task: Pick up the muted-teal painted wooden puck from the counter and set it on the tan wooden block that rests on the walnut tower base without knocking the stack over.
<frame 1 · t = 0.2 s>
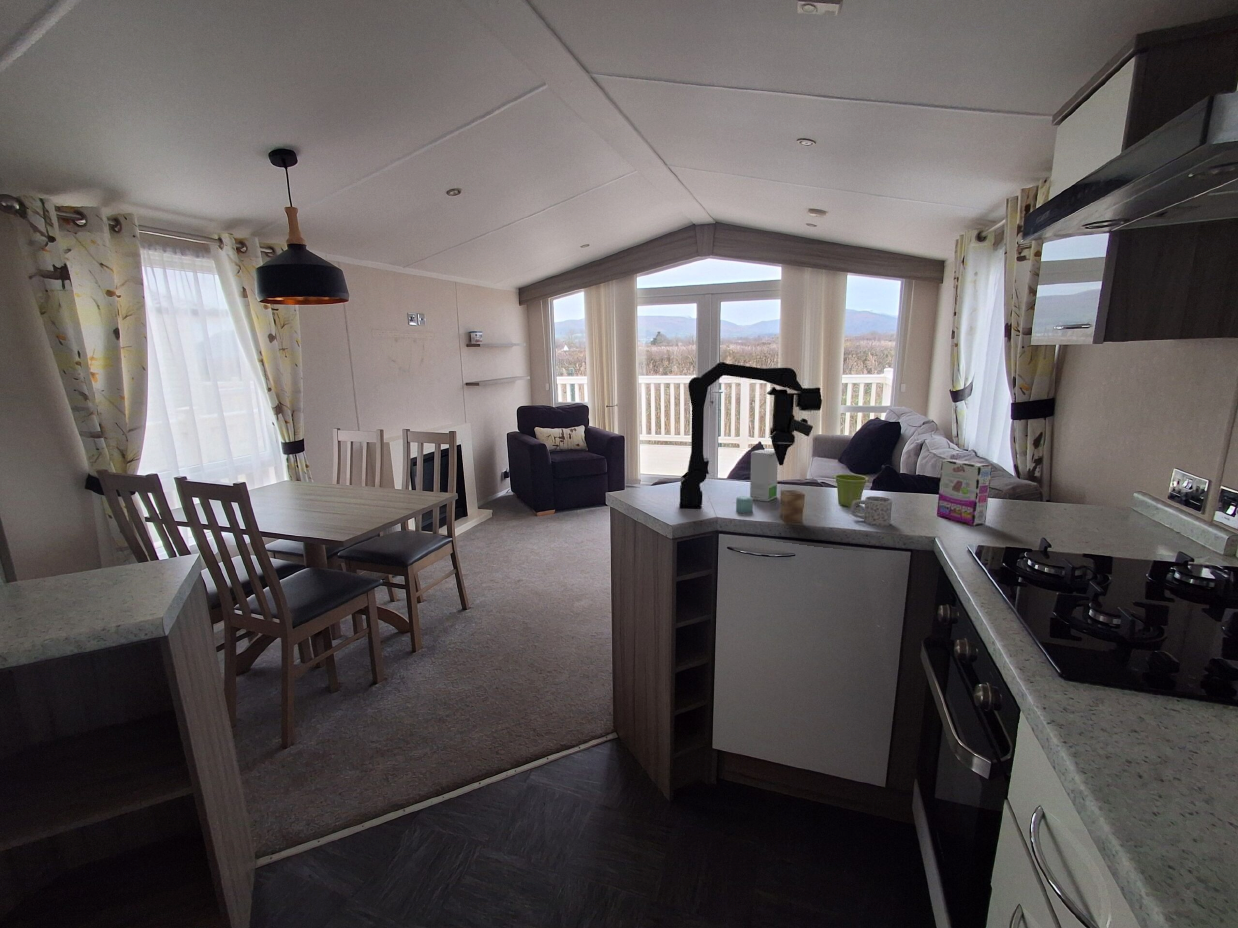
hand: (780, 462, 159), 14 cm above the countertop, fingers open, 9 cm apart
tower base: (791, 519, 150), on the countertop, touching tan wooden block
candy bar box: (960, 520, 147), on the countertop
mug: (869, 522, 146), on the countertop
skincare box: (762, 498, 173), on the countertop
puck: (744, 511, 159), on the countertop
tan wooden block: (791, 506, 149), point 4 cm above the countertop, touching tower base
plant pot: (849, 505, 164), on the countertop
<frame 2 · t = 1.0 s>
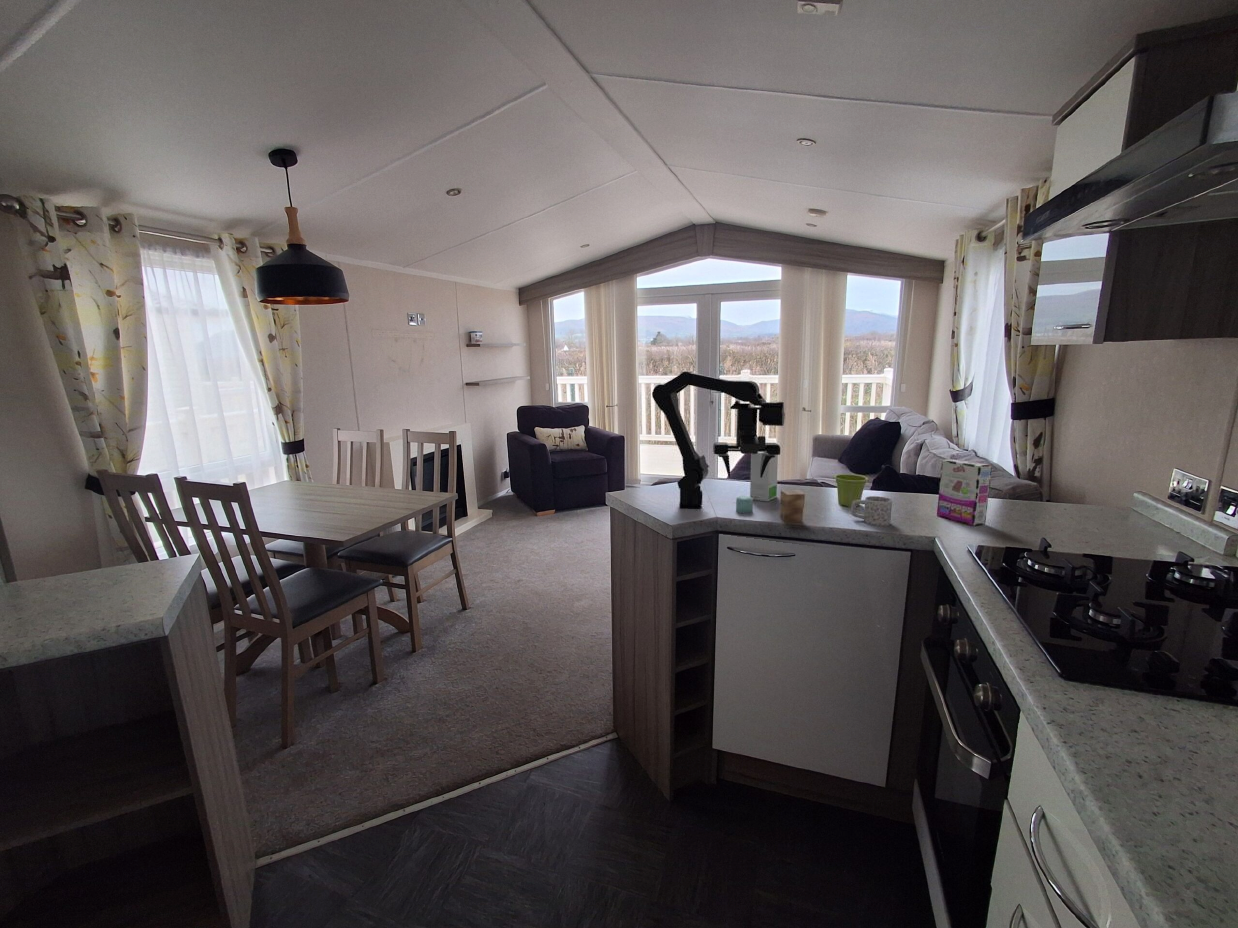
hand: (745, 477, 157), 10 cm above the countertop, fingers open, 9 cm apart
nothing on the countertop moved.
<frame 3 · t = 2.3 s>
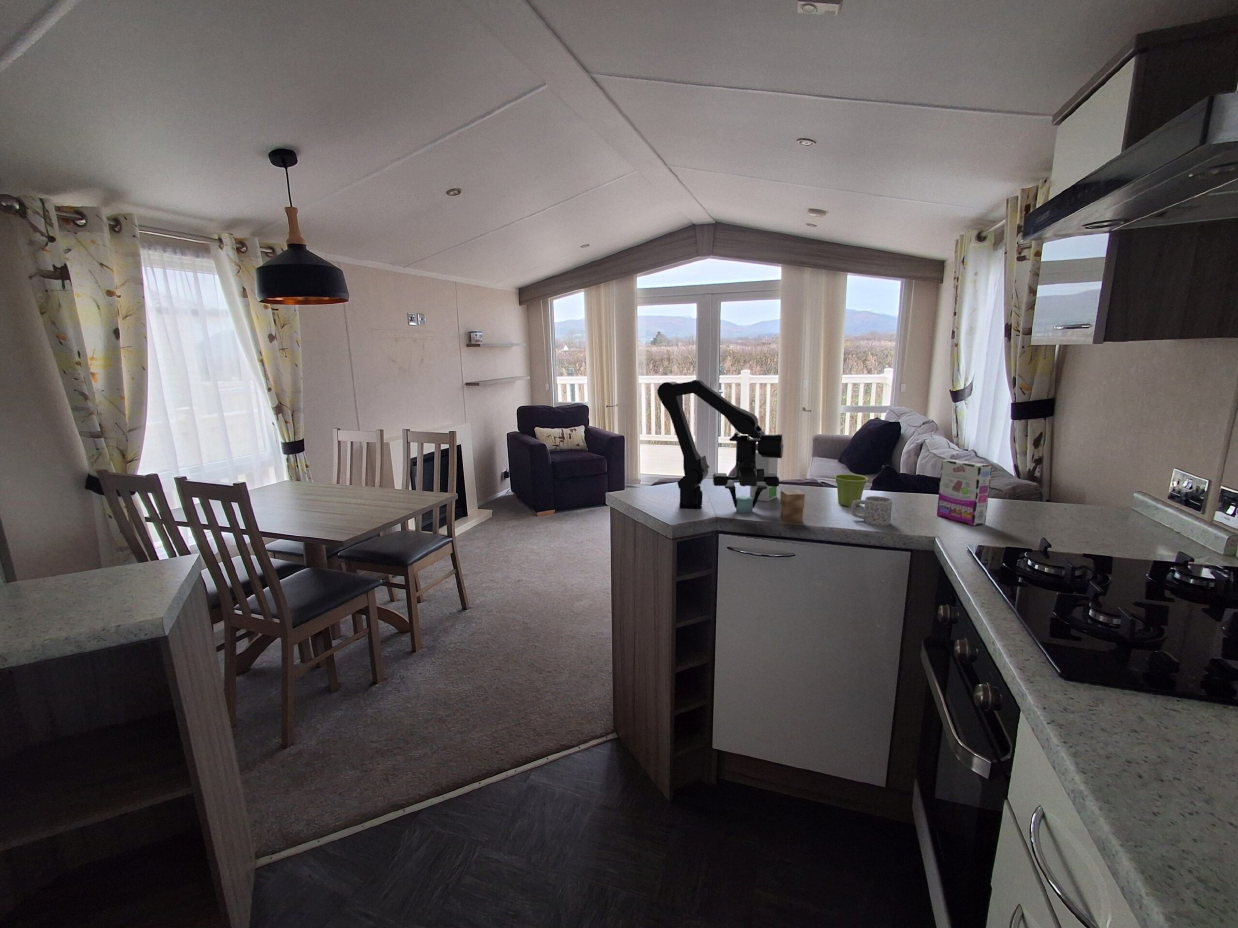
hand: (744, 507, 158), 1 cm above the countertop, fingers closed on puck, 5 cm apart
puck: (744, 511, 159), on the countertop, touching gripper
everything else where it was.
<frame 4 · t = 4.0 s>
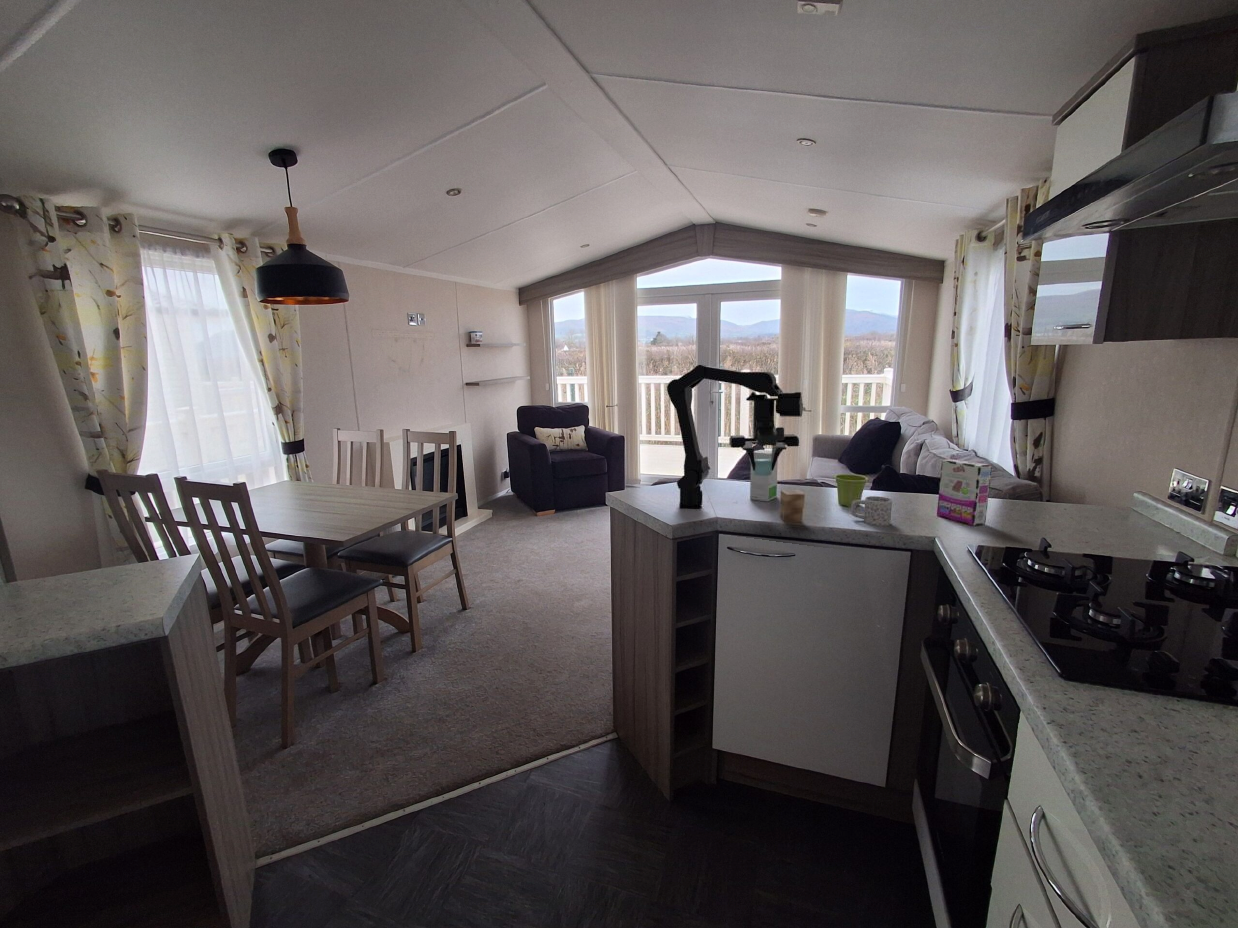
hand: (762, 470, 153), 13 cm above the countertop, fingers closed on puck, 5 cm apart
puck: (762, 474, 153), point 12 cm above the countertop, touching gripper
everything else where it was.
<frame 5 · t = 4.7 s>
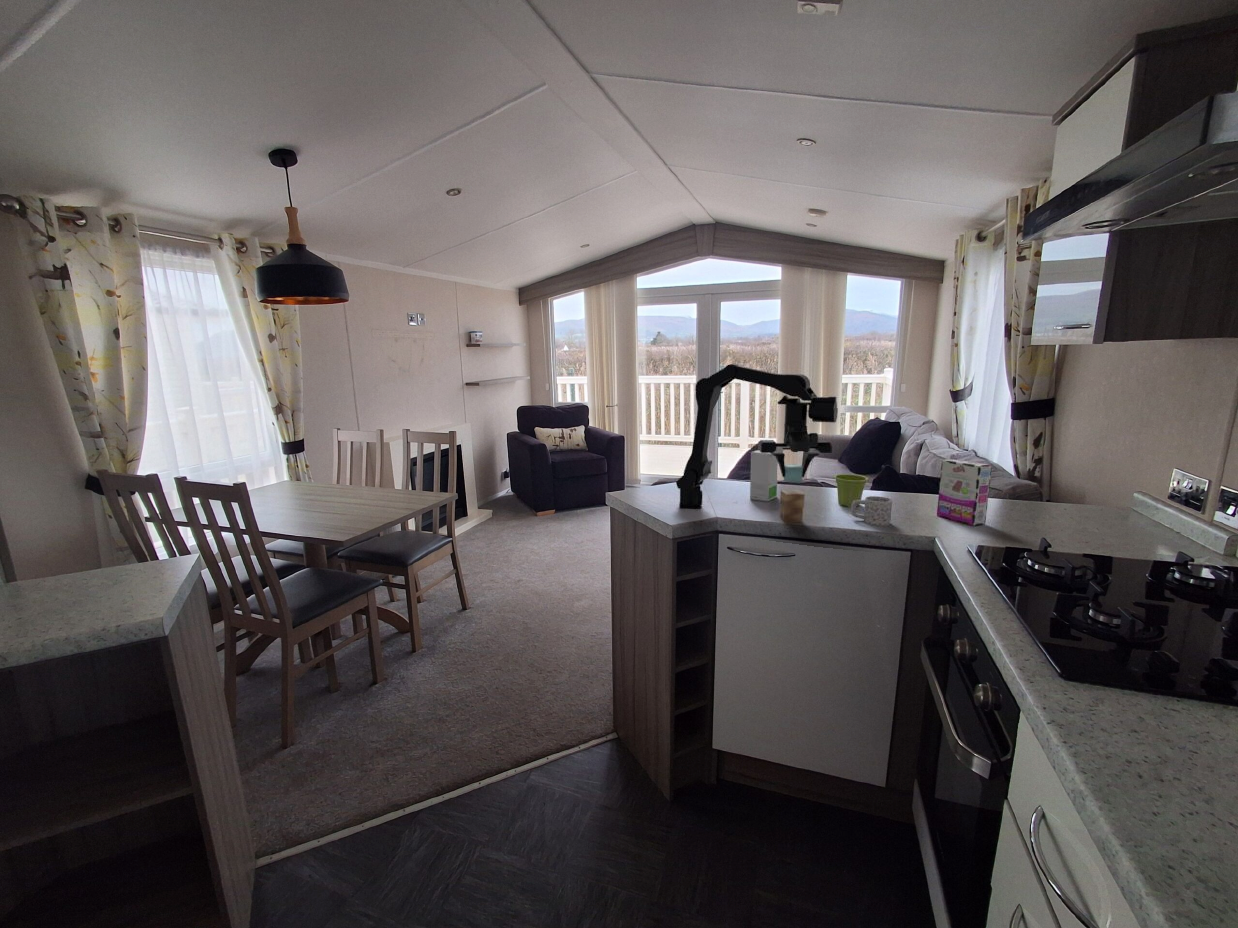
hand: (793, 477, 147), 12 cm above the countertop, fingers closed on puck, 5 cm apart
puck: (792, 480, 148), point 11 cm above the countertop, touching gripper
everything else where it was.
when the fingers open (10 cm above the countertop, at t = 5.5 s): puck stays where it is, resting on tan wooden block.
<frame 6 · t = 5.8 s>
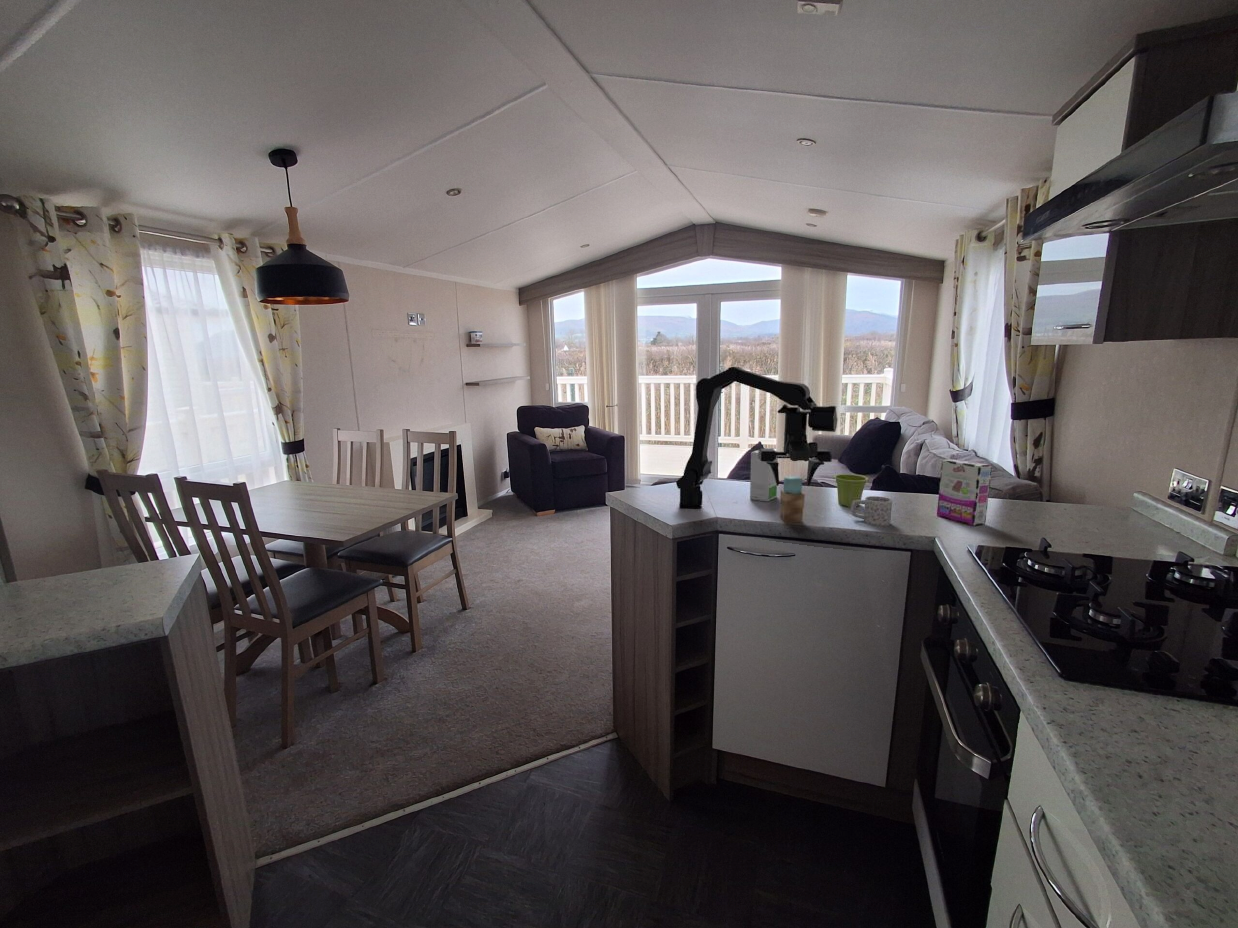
hand: (792, 485, 148), 10 cm above the countertop, fingers open, 8 cm apart
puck: (792, 492, 148), point 8 cm above the countertop, touching tan wooden block
tan wooden block: (791, 505, 149), point 4 cm above the countertop, touching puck, tower base
everything else where it was.
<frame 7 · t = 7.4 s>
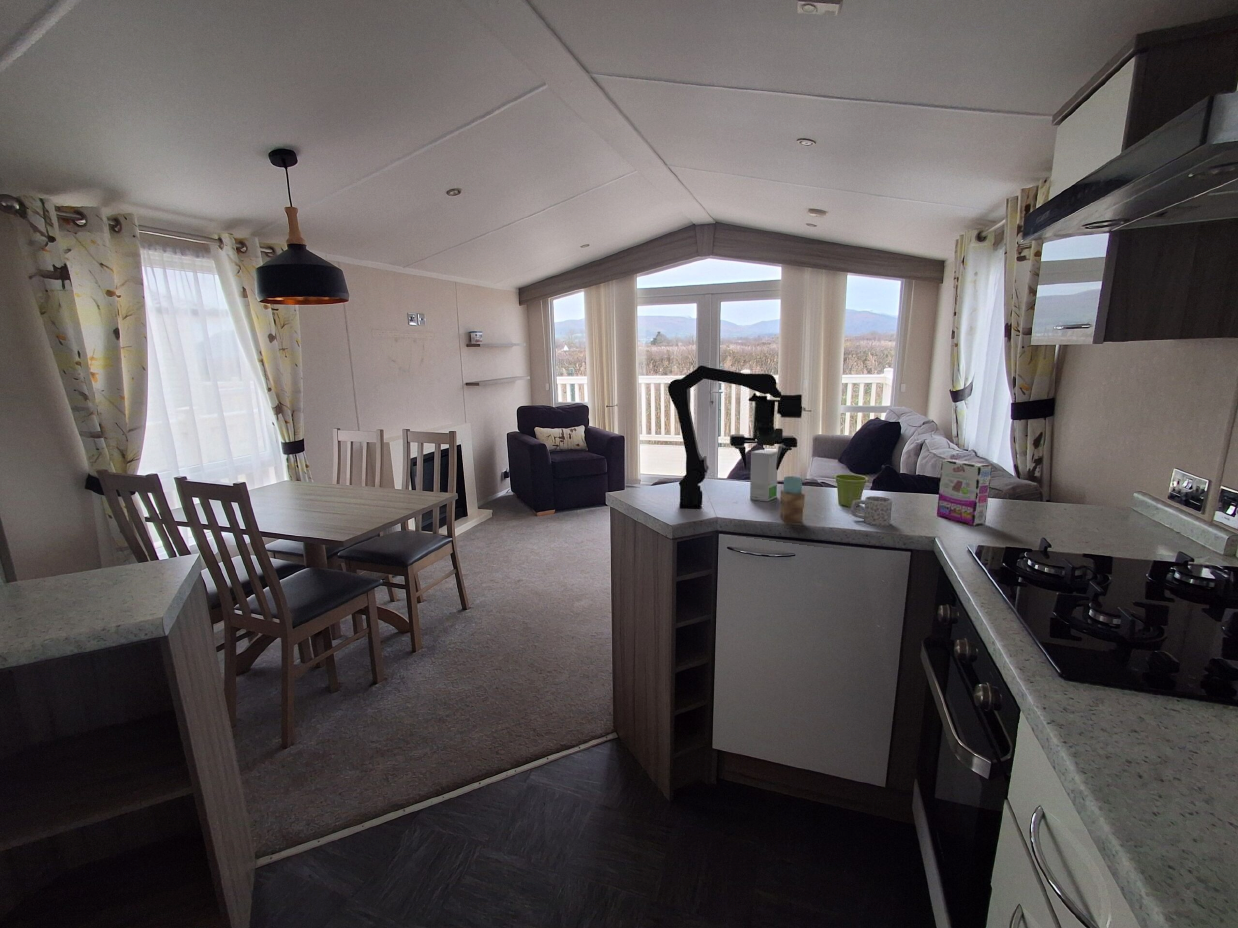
hand: (761, 469, 157), 12 cm above the countertop, fingers open, 9 cm apart
nothing on the countertop moved.
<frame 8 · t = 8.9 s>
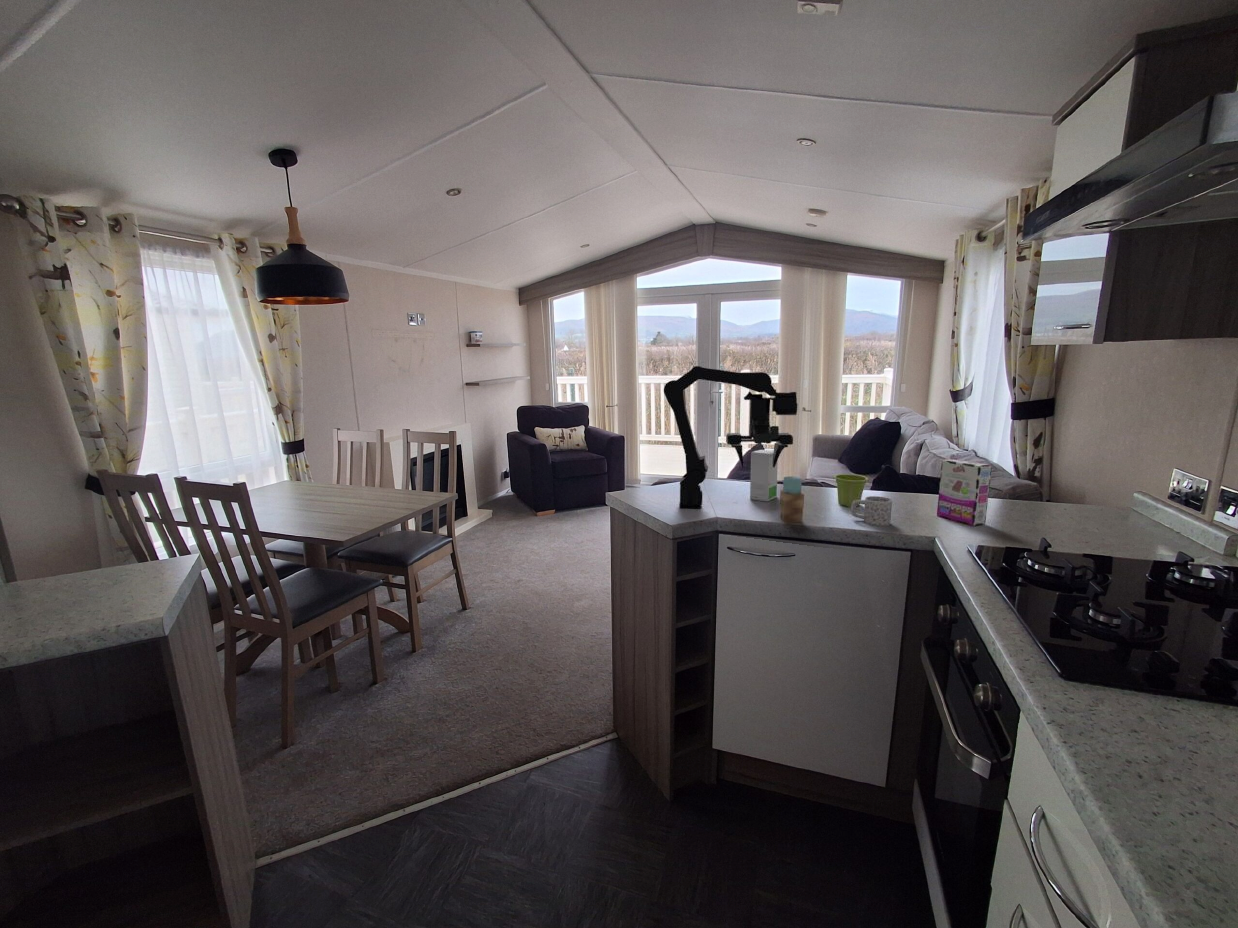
hand: (757, 467, 159), 13 cm above the countertop, fingers open, 9 cm apart
nothing on the countertop moved.
at the end: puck 0.1 cm off-centre on the tan wooden block, point 4.0 cm above the tan wooden block's base; tan wooden block tilted 0°; tower base moved 0.2 cm from its start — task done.
